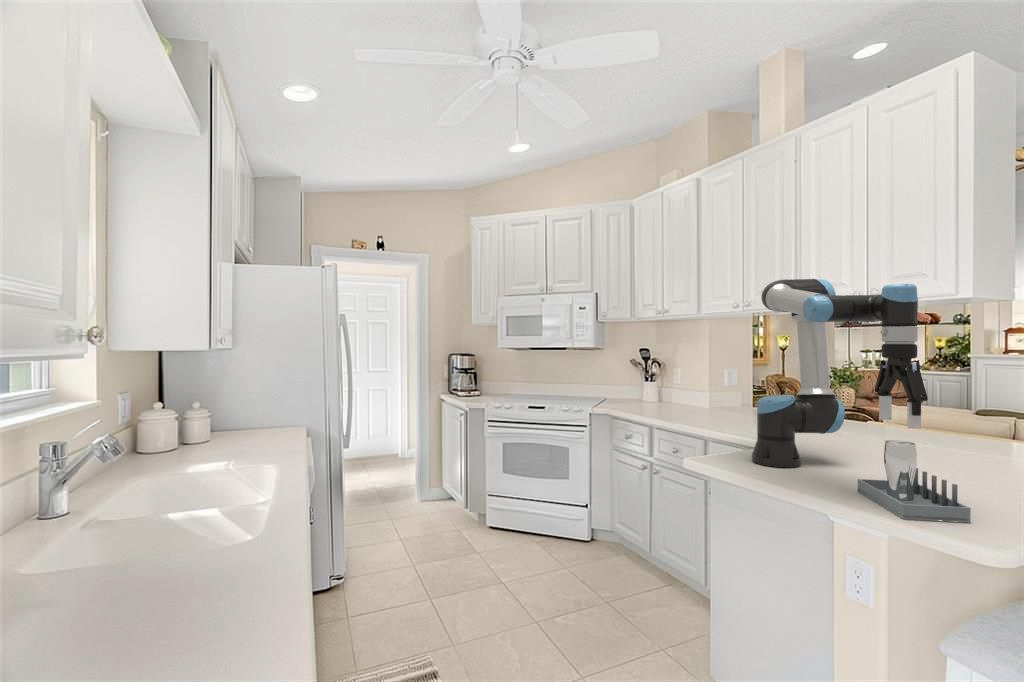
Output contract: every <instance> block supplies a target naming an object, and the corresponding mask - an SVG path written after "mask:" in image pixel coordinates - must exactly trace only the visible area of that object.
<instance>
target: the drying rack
mask: <svg viewBox="0 0 1024 682" xmlns="http://www.w3.org/2000/svg"><path fill="white" fill-rule="evenodd" d="M921 475H922V477H921V478H922V479H921V480H922V481H921V482H922V484H920V483H919V468H918V467H916V472H915V477H914V481H913V494H914V499H915V502H913V503H902V502H900V501H898V500H896V499H895V498H893V497H891V496H889V495H887V494H886V492H887V487H888V482H887V479H886V480H885V479H884V480H883V479H868V478H867V479H865V478H858V479H857V492H858V493H859V494H861V495H863V496H864V497H866V498H868V499H869V500H871V501H873V502H874V503H876V504H877V505H879V506H880V507H882V508H884V509H885V510H888V511H889V512H890V513H892V514H894V515H895V516H897V517H898V518H900V519H902V520H904V521H905V520H908V521H922V520H942V521H959V522H970V523H971V507H969V506H967V505H965V504H962V503H960V502H958V500H959V499H958V495H959V494H958V493H959V491H958V488H959V487H958V484H956V483H951V498H950V497H948V492H947V491H948V487H947V484H948V480H947V479H941V493H939V492H937V490H938V489H937V487H938V485H937V479H938V478H937V477H938V476H937V475H933V474H932V475H931V488H928V471H923V470H922V473H921ZM959 522H958V523H959Z"/></svg>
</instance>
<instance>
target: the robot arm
mask: <svg viewBox="0 0 1024 682" xmlns="http://www.w3.org/2000/svg"><path fill="white" fill-rule="evenodd" d="M760 296H761V297H760V299H761V303H762V304H763V305H764V307H765V308H766V309H768V310H769V311H773V312H779V313H791V319H792V320H793V321H794V322H796V327H797V328H796V329H797V344H798V345H797V346H798V359H799V375H800V390H799V391H797V393H796V397H795V396H794V395H791V394H774V395H773V394H772V395H766V396H763V397H760V398H759V399H758V400H757V409H756V414H757V415H756V419H757V420H756V421H757V423H756V425H757V426H756V427H757V429H756V430H757V434H756V435H757V438H756V442H755V445H754V448H753V451H752V454H751V461H752V462H753V463H754V462H755V463H754V464H757V463H758V464H757V465H760V464H761V465H762V466H764V465H766V466H765V467H770V466H774V467H773V468H780V467H787V468H786V469H789V467H790V468H793V467H794V468H798V467H801V466H802V465H801V464H802V461H801V460H802V458H801V456H800V453H799V450H798V447H797V445H796V437H795V436H796V434H820V435H821V434H822V435H824V434H833V433H836V432H838V431H839V430H840V429H841V427H842V426H843V423H844V421H845V415H846V414H845V412H846V411H845V407H844V405H843V402H842V401H841V400H839V399H837V398H836V393H835V392H834V391H832V389H831V388H830V378H829V377H830V376H829V362H828V361H829V359H828V348H827V333H826V323H833V322H834V323H838V322H839V323H840V322H841V323H842V322H843V323H844V322H845V323H847V322H848V323H850V322H851V323H855V322H857V323H875V322H877V323H878V322H881V330H880V334H881V342H884V343H882V344H881V357H882V358H883V360H882V359H881V360H880V362H879V363H880V368H879V371H878V375H877V378H876V382H875V386H874V389H873V390H874V391H873V392H874V393H877V395H878V399H879V400H878V420H879V421H892V419H893V418H892V406H893V404H892V400H893V399H892V396H893V393H892V390H893V389H894V386H895V385H896V382H897V381H900V382H901V385H902V387H903V389H904V391H905V394H906V396H907V398H908V399H907V400H906V403H907V404H906V407H907V408H906V417H907V418H906V425H907V426H906V427H907V429H912V430H913V429H917V430H919V429H922V403H924V402H928V400H929V397H928V394H927V391H926V388H925V383H924V380H923V377H922V372H921V365H920V362H912V359H916V358H917V357H918V345H917V344H916V343H917V342H918V337H919V336H918V316H919V315H918V314H919V313H918V311H919V310H918V308H919V307H918V305H919V304H918V303H919V297H918V288H917V286H916V285H915V284H913V283H893V284H885V285H884V286H883V287H882V289H881V293H880V294H854V295H853V294H852V295H851V294H850V295H849V294H847V295H841V294H840V295H836V290H835V287H834V286H833V284H831V282H830V281H828V280H826V279H817V278H803V279H801V278H798V279H787V278H785V279H778V280H775V281H773V282H770V283H769V284H767V285H766V286H765V287H764V288H763V290H762V293H761V295H760ZM884 359H886V360H884ZM761 465H760V466H761Z"/></svg>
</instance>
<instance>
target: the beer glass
mask: <svg viewBox="0 0 1024 682" xmlns="http://www.w3.org/2000/svg"><path fill="white" fill-rule="evenodd" d="M917 453H918V452H917V444H916V443H915V442H912V441H908V440H907V441H906V440H898V439H886V440H884V446H883V464H884V466H883V467H884V470H885V475H886V480H887V482H888V487H887V492H886V494H887V495H889V496H891V497H893V498H895V499H896V500H898V501H900V502H902V503H913V502H915V499H914V494H913V481H914V477H915V472H916V468H917V467H918V466H917V465H918V457H917V456H918V455H917Z"/></svg>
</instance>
